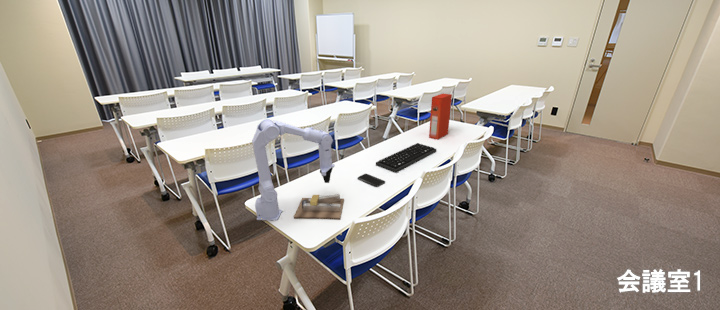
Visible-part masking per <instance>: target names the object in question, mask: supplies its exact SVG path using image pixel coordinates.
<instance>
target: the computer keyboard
mask: <svg viewBox="0 0 720 310" xmlns="http://www.w3.org/2000/svg"><path fill="white" fill-rule="evenodd" d="M434 153H437V148H435V147H432V146H430V145H426V144H422V143H419V142H417V143H415V144H412V145H410V146H408V147H406V148H404V149H401V150H400V151H397V152H395V153H393V154H391V155H388V156H386V157H384V158H382V159H379V160H378V161H376V162H375V166H377V167H379V168H382V169H384V170H387V171H389V172H392V173H395V174H397V173H399V172H401V171H403V170H405V169H407V168H409V167H410V166H412V165H414V164H416V163H418V162H420V161H422V160H423V159H425V158H428V157H429V156H431V155H433V154H434Z"/></svg>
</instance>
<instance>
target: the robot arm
mask: <svg viewBox="0 0 720 310" xmlns="http://www.w3.org/2000/svg"><path fill="white" fill-rule="evenodd" d="M285 134H289V135H294V136H298V137H302V139H303V140H304V141H307V142H311V143H315V144H318V155H319V156H318V158H319V173H320V175H321V176H322V178H323V181H324V183H325V184H329V183H330V181H331V174H332V171H333V168H335V164H333V159H332V157H333V156H332V144H333V142H334V139H333V137H332V135H331V134H329V133H328V132H326V131H324V130H322V129H319V130H318V129H315V128H314V127H313V126H309V127H308V126H307V127H305V128H302V127H297V126H295V125H292V124H289V123H286V122H282V121H278V120H272V119H263V120H262V121H261V122H260V123H258V125H257V126H256V130H255V134H254V136H253V138H252V140H251V143H252V149H253V153H254V154H253V155H254V159H255V164H256V169H257V173H258V179H259V180H258V182H259V183H258V184H259V185H258V187H257V188H258V191H259V193H260V197H257V198H256V200H255V203H254V207H255V208H254V209H255V214H256V220H257V221H278V220H279V217H281V216H280V215H281V214H282V212H283V209H280V208H279V207H280V206H279V201H278V200H279V199H278V192H277V191H276V189H275V187H274V184H273V181H272V176H271V171H270V170H271V169H270V164H269V159H268V155H267V150H266V146H268V144H269V143H270V142H272V141H275V140H276V139H277V138H278V137H279V136H280V137H282V136H284V135H285ZM261 218H262V219H261Z"/></svg>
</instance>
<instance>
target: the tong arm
mask: <svg viewBox="0 0 720 310" xmlns="http://www.w3.org/2000/svg"><path fill="white" fill-rule="evenodd" d="M309 198H310V199H308V200H309V203H310V201H311V198H312V197H309ZM340 199H341V195H340V193H336V194H329V195H323V196H319V201H318V203H319V204H326V203H332V202H338V201H340Z"/></svg>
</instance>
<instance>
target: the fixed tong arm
mask: <svg viewBox="0 0 720 310" xmlns="http://www.w3.org/2000/svg"><path fill="white" fill-rule="evenodd" d="M301 200H302V199H301ZM302 208H303V209H304V211H323V212H340V211H341V204H319V203H318V204H317V206H312V205H310V203H308V200H302Z"/></svg>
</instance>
